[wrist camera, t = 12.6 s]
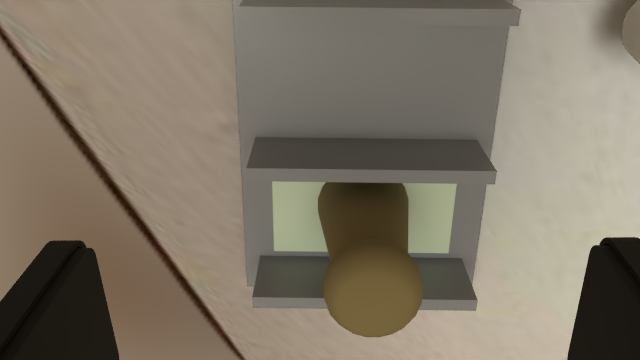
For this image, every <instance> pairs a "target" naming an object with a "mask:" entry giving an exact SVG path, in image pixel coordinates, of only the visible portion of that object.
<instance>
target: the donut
mask: <svg viewBox="0 0 640 360" xmlns="http://www.w3.org/2000/svg"><path fill="white" fill-rule="evenodd" d="M622 42H623V44H624V47H625V49H626V50H627V51H628V52H629V53H630V54H631V55H632V56H633V58H634V59H635V60H636V61H637V62H638V63H639V64H640V0H637V1H636V2H635V3H634V4H633V5H632V7H631V8H630V9H629V10H628V12H627V13H626V16H625V19H624V21H623V28H622Z"/></svg>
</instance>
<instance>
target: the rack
mask: <svg viewBox="0 0 640 360" xmlns="http://www.w3.org/2000/svg"><path fill="white" fill-rule="evenodd" d="M512 3H513V0H233V19H234V38H235V58H236V77H237V96H238V116H239V135H240V154H241V174H242V193H243V212H244V232H245V251H246V270H247V286H254V291H253V297H252V300H253V308H316V309H328V307H327V305H326V302H325V299H324V276H325V273H326V271H327V268H328V266H329V264H330V258H329V254H328V250H327V246H326V242H325V238H324V234H323V230H322V226H321V222H320V218H319V214H318V197H319V194H320V192H321V189H322V186H323V185H324V184H325V183H326V182H358V183H402V184H403V185H404V186H405V189H406V192H407V196H408V199H409V203H408V254H409V255H410V256H411V257H412V259H413V260H414V261H415V263H416V264H417V265H418V268H419V271H420V274H421V278H422V281H423V296H422V303H421V306H420V308H419V310H468V311H476V307H477V298H476V295H475V292H474V290H473V287H472V283H473V276H474V269H475V262H476V255H477V248H478V241H479V234H480V227H481V220H482V213H483V206H484V199H485V192H486V185H487V184H495V180H496V173H497V171H496V169H495V168H494V166H493V164H492V163H491V161H490V157H491V150H492V143H493V136H494V129H495V122H496V115H497V108H498V101H499V94H500V87H501V80H502V73H503V66H504V59H505V52H506V45H507V38H508V31H509V26H519V19H520V12H521V9H519V8H517V7H516V6H514V5H512Z"/></svg>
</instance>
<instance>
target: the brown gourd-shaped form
mask: <svg viewBox="0 0 640 360" xmlns="http://www.w3.org/2000/svg"><path fill="white" fill-rule="evenodd" d="M408 203H409V199H408V196H407V192H406V189H405V186H404V185H403V184H402V183H358V182H326V183H325V184H324V185H323V186H322V189H321V192H320V194H319V197H318V214H319V218H320V222H321V226H322V230H323V234H324V238H325V242H326V246H327V250H328V254H329V258H330V264H329V266H328V268H327V271H326V273H325V276H324V299H325V302H326V305H327V307H328V310H329V312H330V315H331V316H332V317H333V318H334V319H335V320H336V321H337V323H338V324H339V325H341V326H342V327H344V328H345V329H347V330H349V331H350V332H352V333H354V334H357V335H361V336H364V337H382V336H386V335H390V334H393V333H395V332H397V331H399V330H401V329H402V328H404V327H405V326H406V325H407V324H408V323H409V322H410V321H411V320H412V319H413V318H414V317H415V316H416V314H417V312H418V310H419V308H420V306H421V303H422V296H423V281H422V278H421V274H420V271H419V268H418V265H417V264H416V263H415V261H414V260H413V259H412V257H411V256H410V255H409V254H408Z"/></svg>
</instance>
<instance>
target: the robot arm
mask: <svg viewBox="0 0 640 360" xmlns="http://www.w3.org/2000/svg"><path fill="white" fill-rule="evenodd" d="M0 360H119V353H118V349H117V345H116V341H115V336H114V332H113V327H112V323H111V319H110V315H109V310H108V306H107V302H106V297H105V293H104V289H103V284H102V280H101V276H100V271H99V267H98V263H97V258H96V254H95V252H94V250H93V249H92V248H86V245H85V244H84V242H82V241H50V242H49V243H47V244H46V245H45V246H44V248H43V249H42V250H41V251H40V253H39V254H38V255H37V256H36V258H35V259H34V260H33V262H32V263H31V264H30V265H29V266H28V268H27V269H26V270H25V272H24V273H23V274H22V275H21V276H20V278H19V279H18V280H17V281H16V283H15V284H14V285H13V286H12V288H11V289H10V290H9V292H8V293H7V294H6V295H5V297H4V298H3V299H2V300H1V301H0ZM568 360H640V239H639V238H635V237H622V238H604V239H603V240H602V241H601V243H600V245H595V246H593V247H592V248H591V250H590V254H589V258H588V263H587V268H586V272H585V277H584V282H583V286H582V291H581V296H580V300H579V305H578V310H577V314H576V319H575V324H574V329H573V333H572V338H571V343H570V347H569V352H568Z"/></svg>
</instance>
